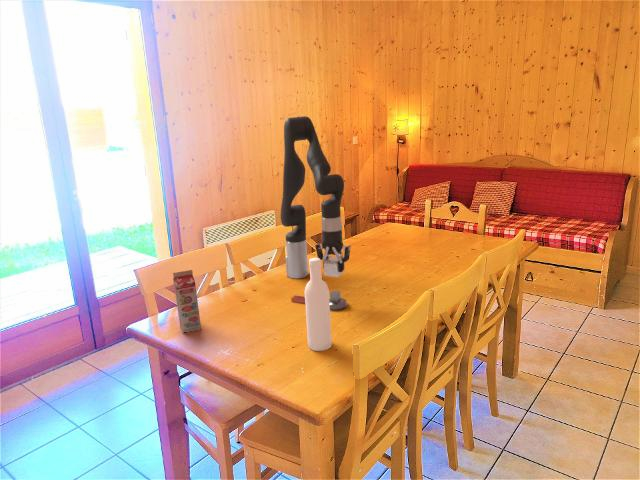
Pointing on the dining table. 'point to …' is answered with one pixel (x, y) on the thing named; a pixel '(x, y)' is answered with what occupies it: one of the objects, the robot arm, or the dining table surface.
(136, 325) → the dining table surface
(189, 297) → the juice carton
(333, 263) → the socket
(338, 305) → the ratchet
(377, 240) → the dining table surface
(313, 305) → the bottle
